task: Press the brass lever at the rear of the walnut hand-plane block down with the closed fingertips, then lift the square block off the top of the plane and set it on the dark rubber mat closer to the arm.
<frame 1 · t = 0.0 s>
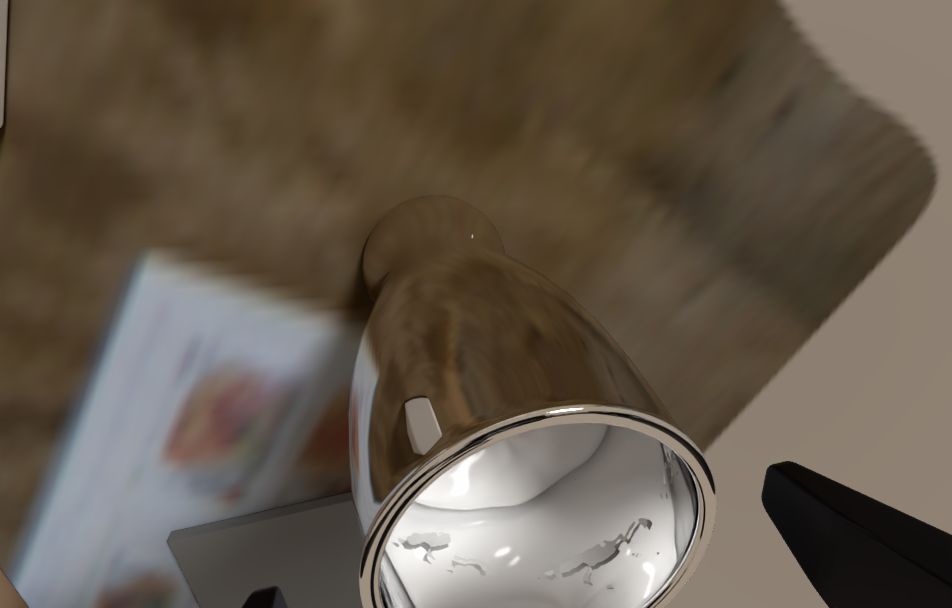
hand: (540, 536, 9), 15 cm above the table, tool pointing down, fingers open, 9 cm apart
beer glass: (433, 263, 23), on the table
mat: (289, 570, 28), on the table
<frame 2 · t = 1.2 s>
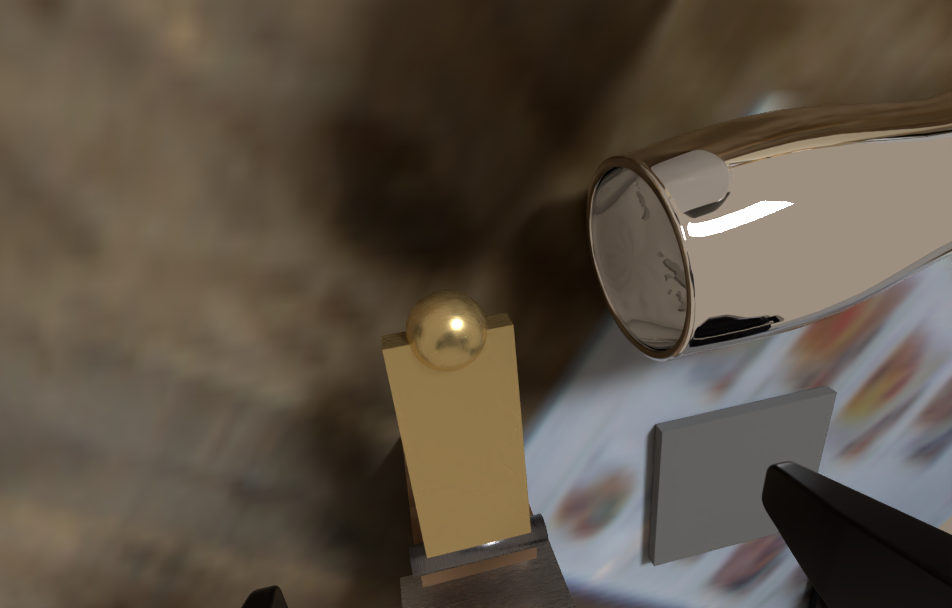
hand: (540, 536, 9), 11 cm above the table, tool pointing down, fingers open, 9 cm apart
lever: (463, 442, 14), point 6 cm above the table, hinge at 0.0°
mat: (733, 475, 27), on the table
plane body: (465, 526, 25), on the table
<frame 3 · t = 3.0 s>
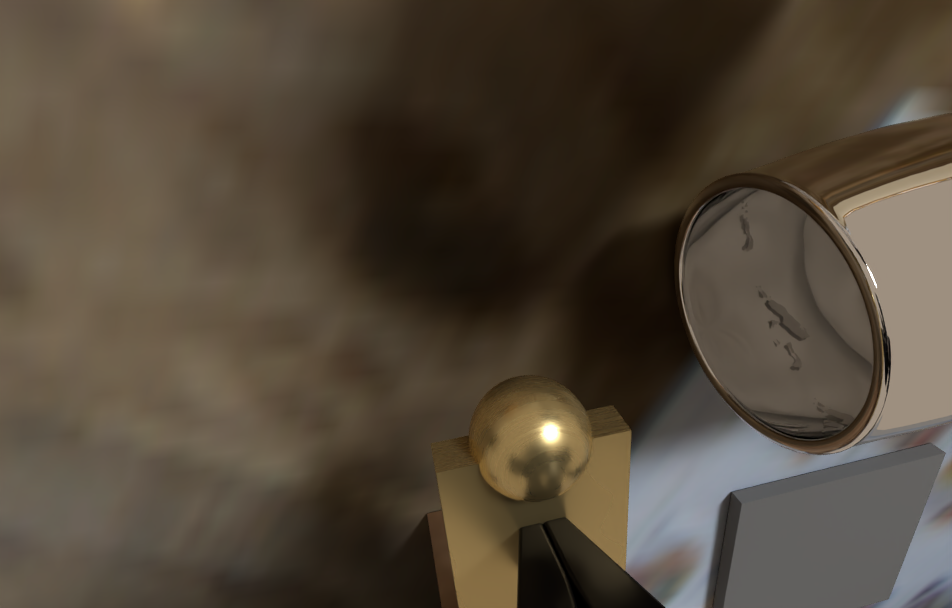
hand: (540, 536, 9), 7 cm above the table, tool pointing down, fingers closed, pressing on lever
lever: (539, 581, 10), point 6 cm above the table, hinge at 0.4°, touching gripper
mat: (812, 545, 23), on the table
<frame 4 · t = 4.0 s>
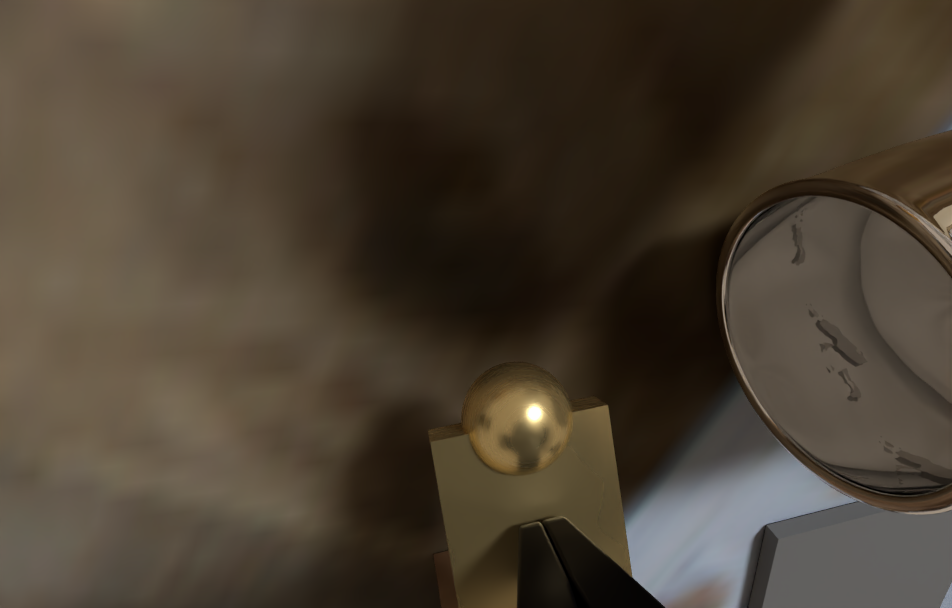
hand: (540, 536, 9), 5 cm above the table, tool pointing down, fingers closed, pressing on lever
lever: (545, 600, 10), point 5 cm above the table, hinge at 21.7°, touching gripper
mat: (849, 578, 21), on the table
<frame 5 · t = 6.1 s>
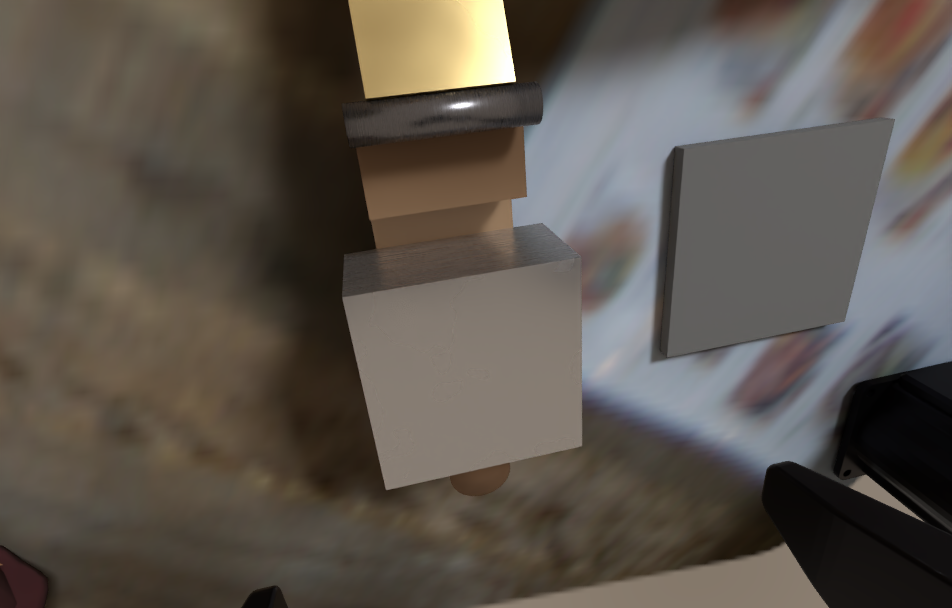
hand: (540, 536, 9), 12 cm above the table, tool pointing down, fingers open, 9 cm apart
square block: (457, 328, 16), point 4 cm above the table, touching plane body
mat: (764, 241, 22), on the table
plane body: (437, 273, 20), on the table
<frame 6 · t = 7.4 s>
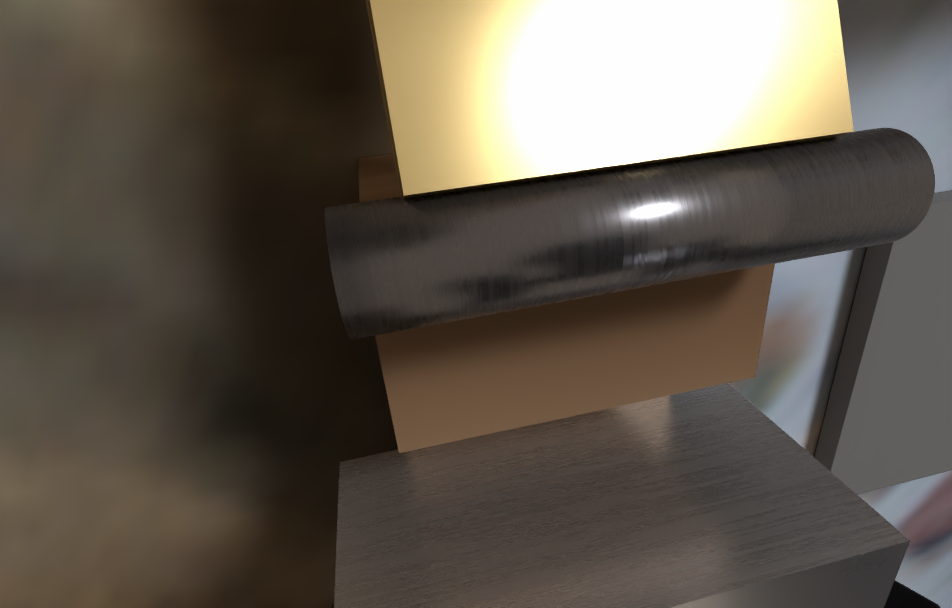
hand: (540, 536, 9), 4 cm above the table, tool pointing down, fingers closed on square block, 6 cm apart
square block: (549, 559, 9), point 4 cm above the table, touching gripper, plane body
plane body: (492, 406, 12), on the table
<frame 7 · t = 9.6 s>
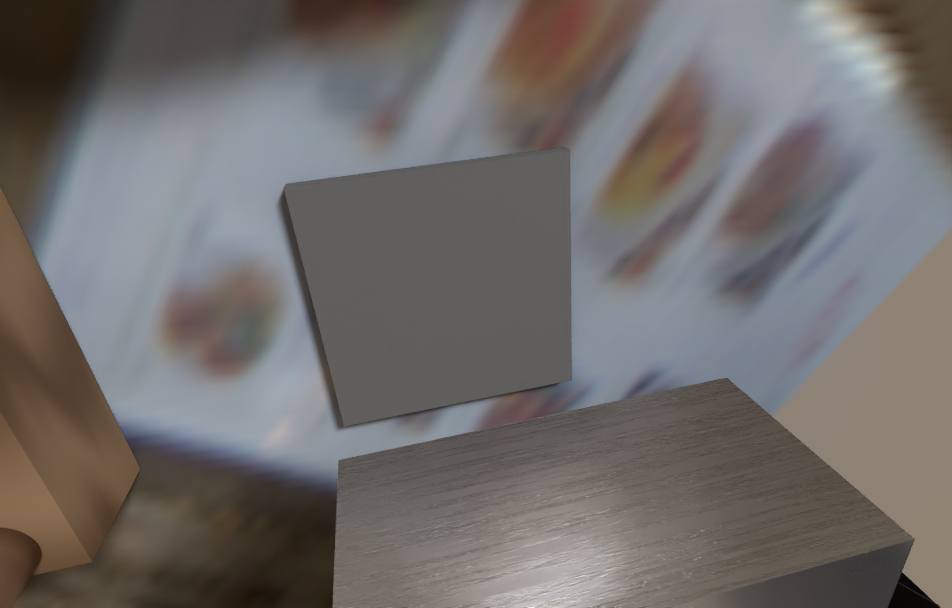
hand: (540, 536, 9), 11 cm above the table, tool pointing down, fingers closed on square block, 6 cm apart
square block: (549, 558, 9), point 11 cm above the table, touching gripper
mat: (446, 291, 19), on the table
when the fingers open (2 cm above the table, at t = 11.7 s): square block drops 1 cm, resting on mat.
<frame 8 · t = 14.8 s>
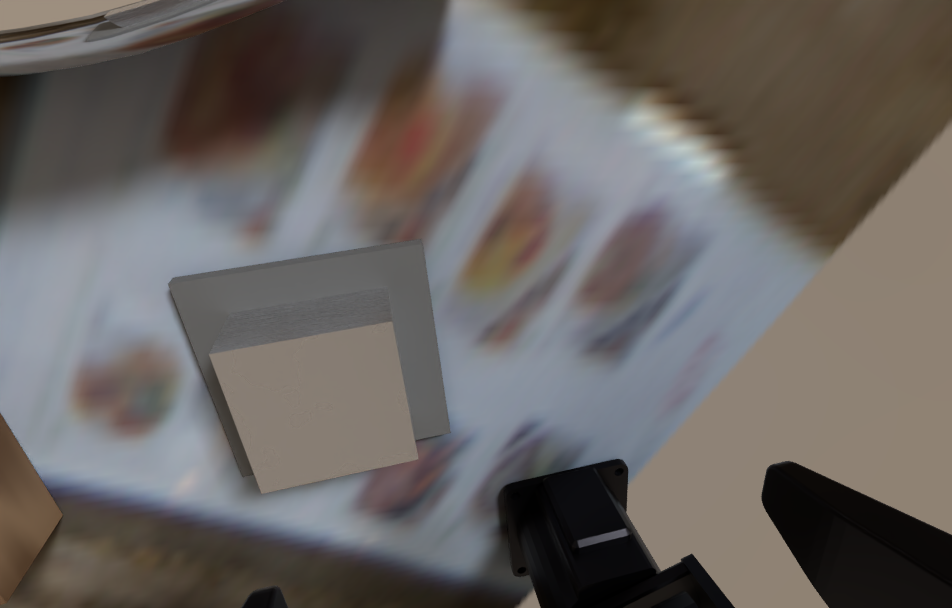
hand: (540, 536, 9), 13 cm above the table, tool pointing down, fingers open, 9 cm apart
square block: (327, 367, 21), point 1 cm above the table, touching mat
mat: (327, 360, 21), on the table
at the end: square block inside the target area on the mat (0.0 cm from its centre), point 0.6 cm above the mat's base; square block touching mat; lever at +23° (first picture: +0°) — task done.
